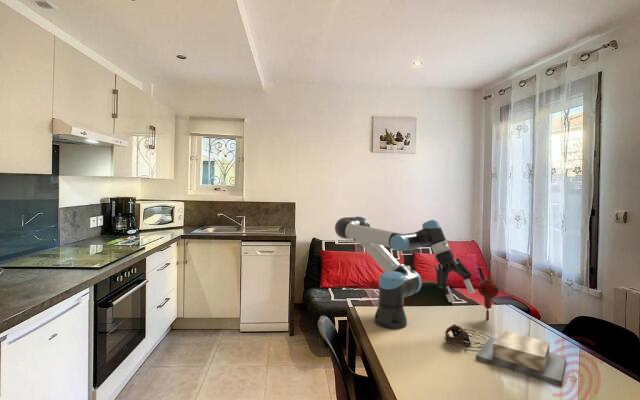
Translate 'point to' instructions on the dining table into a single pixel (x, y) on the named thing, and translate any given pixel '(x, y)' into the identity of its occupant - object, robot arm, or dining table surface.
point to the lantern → (488, 293)
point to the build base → (547, 375)
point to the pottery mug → (457, 335)
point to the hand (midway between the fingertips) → (462, 297)
